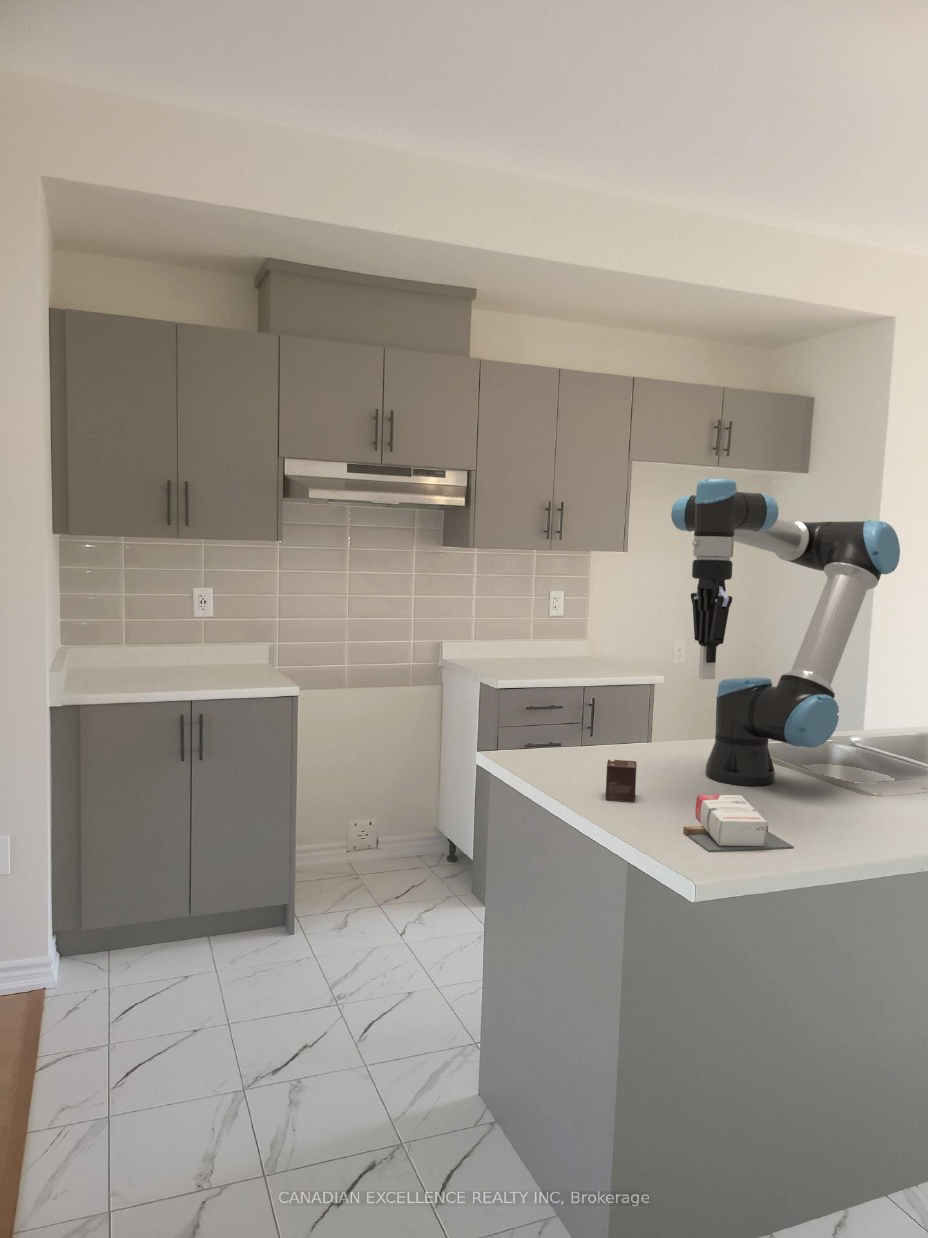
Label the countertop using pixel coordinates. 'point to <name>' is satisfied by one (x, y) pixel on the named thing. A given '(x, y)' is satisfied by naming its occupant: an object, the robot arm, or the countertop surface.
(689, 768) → the countertop surface
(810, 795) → the countertop surface
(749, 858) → the countertop surface
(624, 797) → the box
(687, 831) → the batten
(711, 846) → the mat
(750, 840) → the ink box
